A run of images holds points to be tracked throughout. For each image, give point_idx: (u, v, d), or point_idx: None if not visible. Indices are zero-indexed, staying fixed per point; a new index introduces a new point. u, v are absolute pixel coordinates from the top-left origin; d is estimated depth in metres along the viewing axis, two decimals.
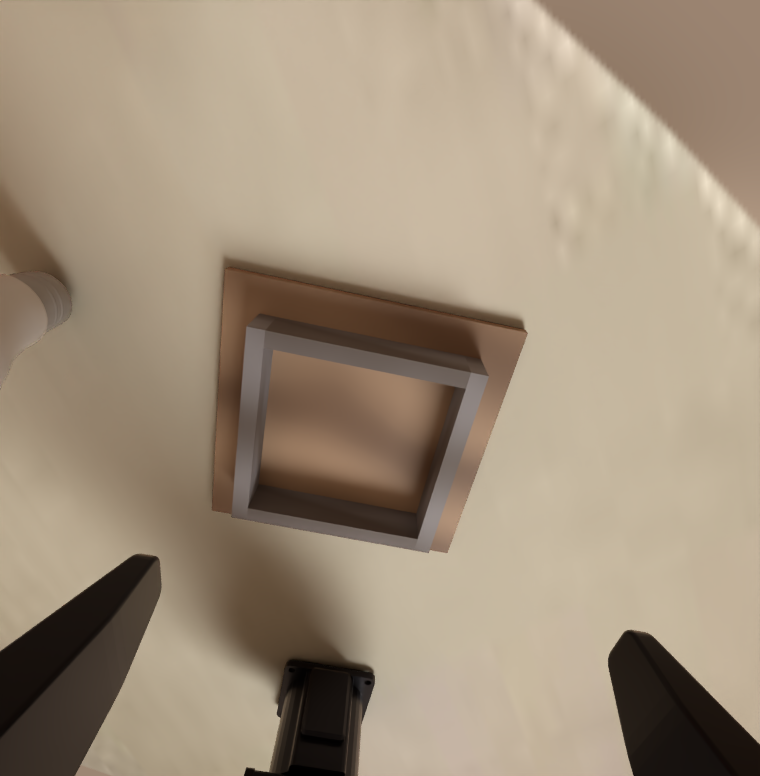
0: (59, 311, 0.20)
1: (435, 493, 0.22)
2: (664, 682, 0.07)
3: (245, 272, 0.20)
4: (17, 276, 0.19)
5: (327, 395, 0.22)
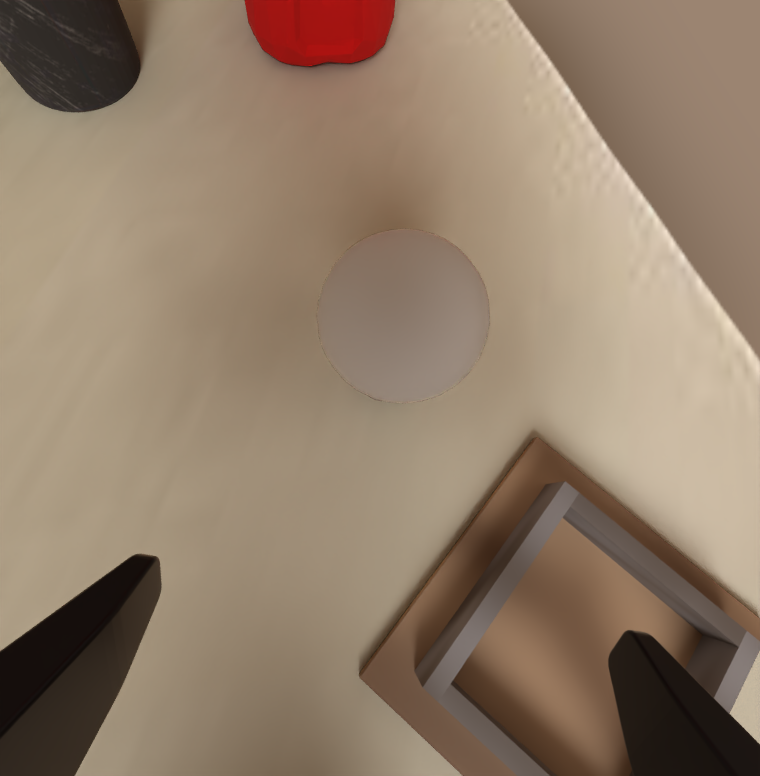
0: None
1: None
2: (664, 682, 0.07)
3: None
4: None
5: (568, 593, 0.21)
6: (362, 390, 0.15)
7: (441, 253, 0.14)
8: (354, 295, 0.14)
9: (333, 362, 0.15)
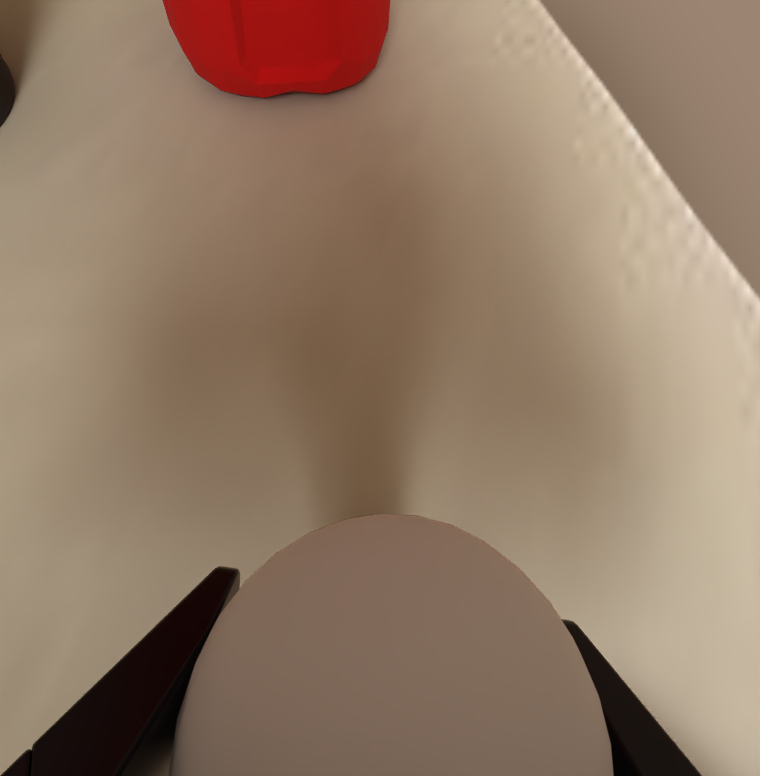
0: None
1: None
2: None
3: None
4: None
5: None
6: None
7: (500, 725, 0.05)
8: None
9: None
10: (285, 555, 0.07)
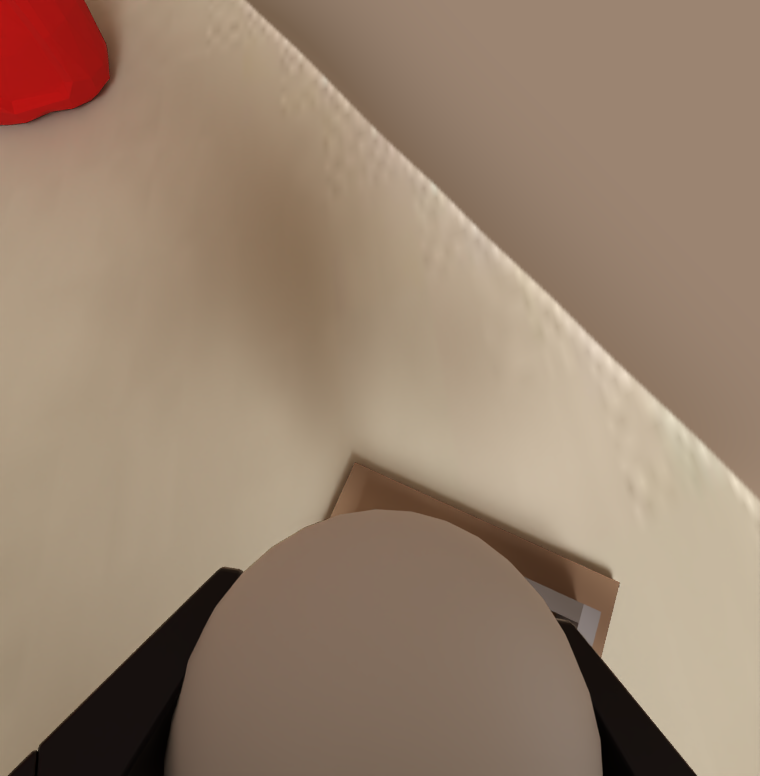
0: None
1: None
2: None
3: (370, 469, 0.22)
4: None
5: None
6: None
7: (488, 719, 0.05)
8: None
9: None
10: (280, 549, 0.07)
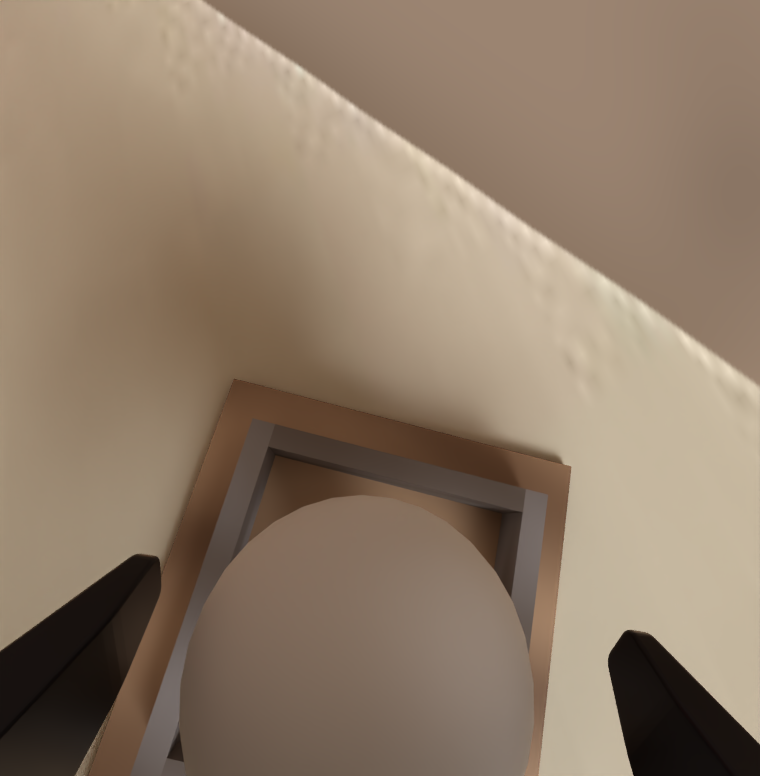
0: None
1: None
2: (664, 682, 0.07)
3: None
4: None
5: None
6: None
7: (433, 645, 0.06)
8: (223, 749, 0.06)
9: None
10: (280, 522, 0.08)
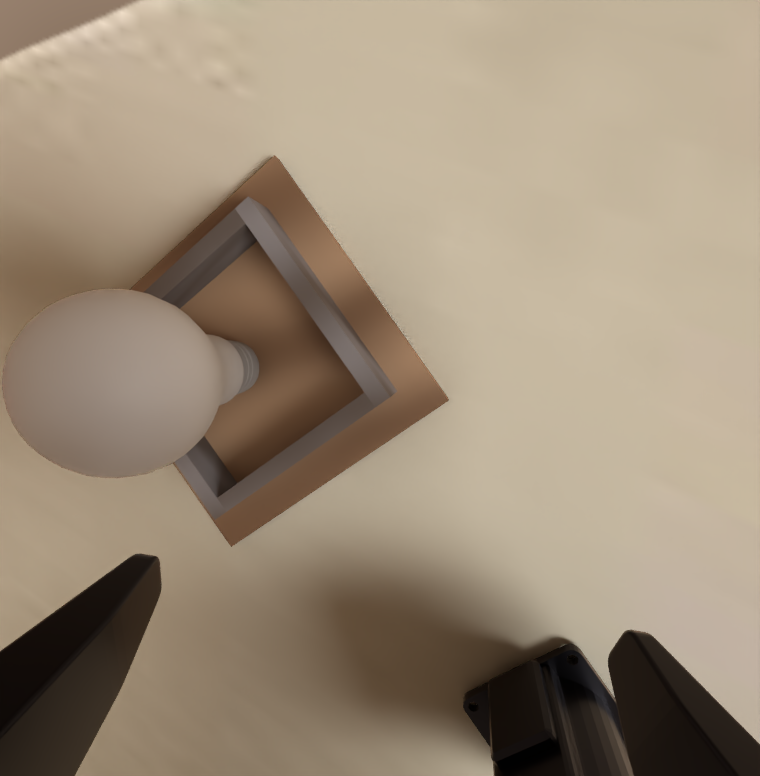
0: (250, 367, 0.21)
1: (325, 330, 0.19)
2: (664, 682, 0.07)
3: None
4: None
5: None
6: None
7: (36, 348, 0.12)
8: (35, 448, 0.13)
9: None
10: None
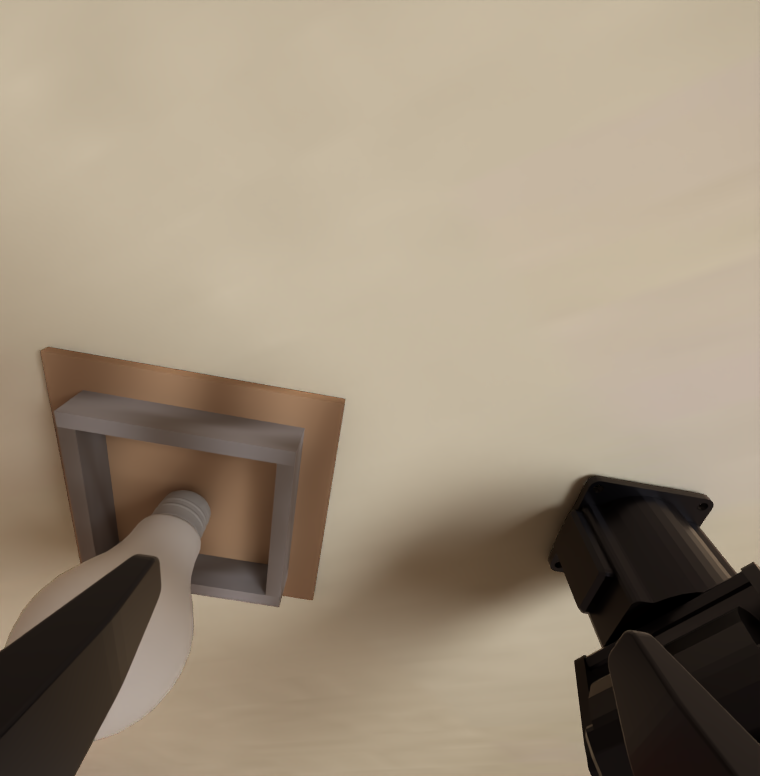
0: (193, 508, 0.22)
1: (207, 449, 0.20)
2: (664, 682, 0.07)
3: None
4: (151, 514, 0.22)
5: None
6: None
7: None
8: None
9: None
10: None
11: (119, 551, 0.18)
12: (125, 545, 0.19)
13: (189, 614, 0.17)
